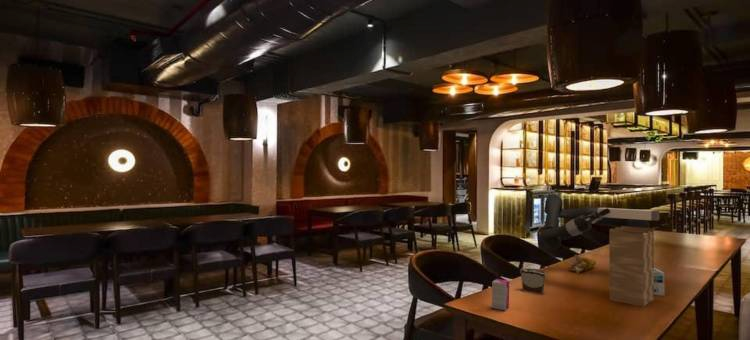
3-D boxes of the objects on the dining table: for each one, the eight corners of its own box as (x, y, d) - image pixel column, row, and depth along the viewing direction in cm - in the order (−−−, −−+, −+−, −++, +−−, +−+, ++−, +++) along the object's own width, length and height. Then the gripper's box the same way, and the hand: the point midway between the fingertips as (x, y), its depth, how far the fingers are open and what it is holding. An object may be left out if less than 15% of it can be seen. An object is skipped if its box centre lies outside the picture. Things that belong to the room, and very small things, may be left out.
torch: (595, 274, 254) (575, 275, 238) (583, 265, 260) (563, 266, 244) (603, 262, 252) (583, 262, 236) (591, 254, 258) (571, 254, 242)
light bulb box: (665, 296, 196) (665, 272, 196) (648, 295, 198) (648, 271, 198) (654, 289, 207) (654, 267, 207) (639, 289, 208) (639, 266, 208)
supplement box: (505, 311, 175) (505, 283, 175) (491, 309, 178) (491, 281, 178) (509, 307, 180) (509, 280, 180) (495, 305, 183) (495, 278, 183)
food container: (550, 292, 203) (550, 270, 203) (545, 295, 198) (545, 273, 198) (525, 287, 211) (525, 266, 211) (519, 290, 207) (519, 269, 207)
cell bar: (600, 216, 206) (600, 207, 206) (659, 219, 188) (659, 210, 188) (597, 216, 203) (597, 208, 203) (656, 220, 185) (656, 211, 185)
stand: (621, 293, 201) (621, 225, 201) (653, 299, 191) (653, 228, 191) (609, 299, 191) (609, 228, 191) (643, 306, 181) (642, 231, 181)
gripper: (588, 231, 215) (620, 215, 204) (576, 234, 205) (609, 218, 194) (580, 217, 217) (612, 201, 207) (568, 219, 208) (600, 203, 197)
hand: (610, 209), depth 200 cm, fingers closed on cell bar, 4 cm apart
